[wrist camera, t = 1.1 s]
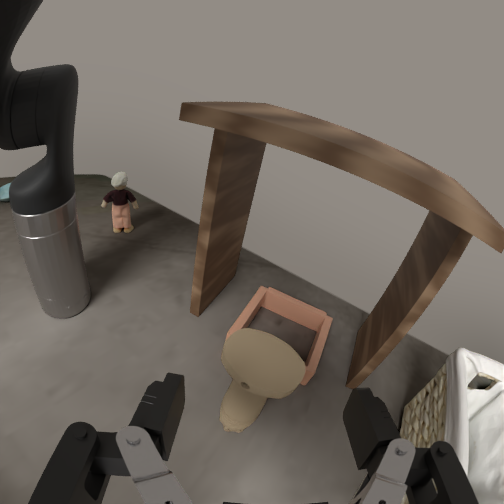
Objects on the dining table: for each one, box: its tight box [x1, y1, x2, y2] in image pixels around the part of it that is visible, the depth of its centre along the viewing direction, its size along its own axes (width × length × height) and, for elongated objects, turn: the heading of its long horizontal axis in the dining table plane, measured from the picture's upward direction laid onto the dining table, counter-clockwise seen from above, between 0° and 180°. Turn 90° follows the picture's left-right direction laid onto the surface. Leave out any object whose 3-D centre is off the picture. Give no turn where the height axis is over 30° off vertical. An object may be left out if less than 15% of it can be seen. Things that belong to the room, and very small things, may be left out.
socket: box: [225, 286, 333, 386], centre depth 39 cm, size 12×12×4 cm
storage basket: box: [400, 348, 504, 504], centre depth 18 cm, size 24×16×15 cm
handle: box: [220, 328, 305, 433], centre depth 24 cm, size 5×6×15 cm
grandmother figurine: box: [102, 172, 139, 233], centre depth 50 cm, size 8×4×13 cm, turn 116°
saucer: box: [0, 183, 11, 202], centre depth 54 cm, size 12×12×2 cm
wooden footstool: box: [179, 102, 504, 389], centre depth 31 cm, size 27×18×30 cm, turn 65°
